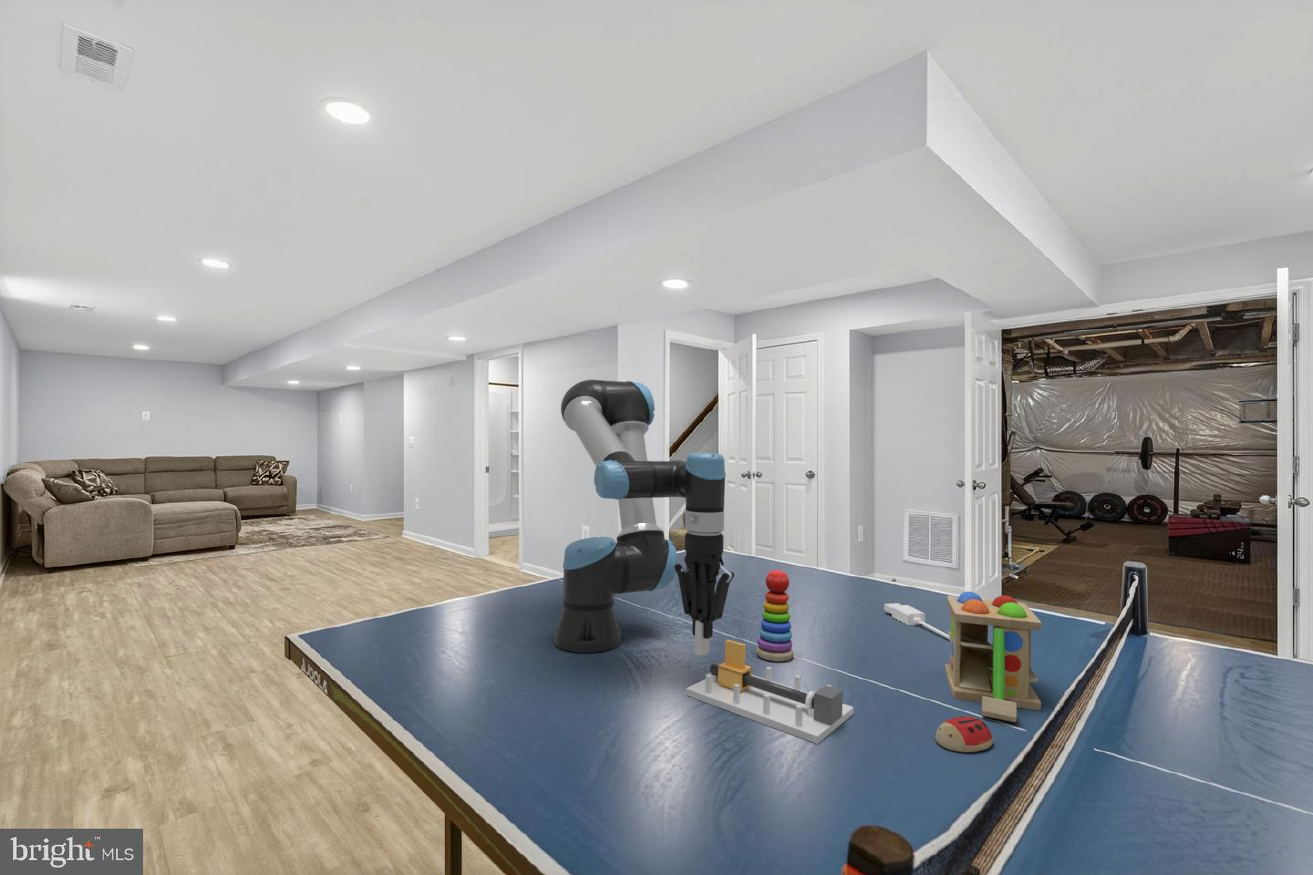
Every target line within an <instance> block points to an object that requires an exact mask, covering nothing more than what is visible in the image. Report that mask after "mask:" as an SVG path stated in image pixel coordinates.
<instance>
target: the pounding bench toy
mask: <svg viewBox="0 0 1313 875" xmlns="http://www.w3.org/2000/svg"><path fill="white" fill-rule="evenodd" d="M946 604H947V607H948V610H949V612H950V630H947V635H949V638H950V639H949V645H950V646H949V648H950V650H949V653H950V654H949V663H945V664H944V665H945V666H944V672H945V676H946V679H947V682H948V686H949V688H950V691H951V695H952V697H953V699H956V700H963V701H969V702H977V703H981V716H982V717H988V718H992V719H998V720H1001V721H1007V722H1010V723H1016V722H1017V719H1018V718H1017V714H1018V712H1017V711H1018V710H1017V709H1023V710H1024V709H1026V710H1033V711H1042V701H1041V700H1040V698H1039V697H1038V695H1037V694H1036V692H1035V691H1034V689H1033V687H1032V683H1038V682H1039V679H1038V677H1037V675H1036V674H1035V672H1034V671H1033V669H1032V631H1042V622H1041V620H1040V619H1039V618H1038V616H1036V614H1035V613H1034V612H1033V611H1032V609H1030V608H1029V606H1028V605H1027V604H1026V603H1024V602H1017V600H1016V599H1014V598H1013V597H1012V596H1009V595H1007V594H1006V595H999V596H996V597H995V598H994V599H984V598H981V596H980V595H979V594H977V593H976V592H974V591H964V592H962V593H961V594H960V595H959V596H958V595H947V596H946ZM989 626H992V643H990V641H989V639H988V638H989Z"/></svg>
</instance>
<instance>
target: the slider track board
mask: <svg viewBox="0 0 1313 875" xmlns="http://www.w3.org/2000/svg"><path fill="white" fill-rule="evenodd" d="M718 665H719V664H716V663H712V664H711V666H710V667H709V672H708V673H706V674H705V678H704V679H702V680H700V681H698V682H696V683H694V684H692V685H690V686H688V687H686V688H685V696H688V697H690V698H693V699H696V700H698V701H701V702H703V703H706V704H709V705H712V706H714V707H717V708H720V709H722V710H725V711H727V712H730V713H733V714H736V715H739V716H741V717H744V718H747V719H749V720H752V721H755V722H757V723H760V724H762V725H765V726H768V727H771V728H773V729H776V730H779V731H782V732H783V733H786V734H790V735H792V736H794V737H798V738H800V739H802V740H805V741H808V742H811V743H814V744H817V745H818V744H819V743H821V741H823V740H824V739H826V737H827V736H829V735H830V734H831V733H833V732H834V731H835V730H836V729H838V727H840V726H841V725H842V724H843V723H844V722H846V721H848V719H849V718H851V717H852V716H853V715H854V710H855V709H854V708H855V707H854V706H851V705H849V704H847V703H846V704H845V703H843V702H844V701H843V694H844V693H843V692H844V691H843V689H839V688H837V687H833V686H832V685H830V684H826V685H824V686H822V687H821V688H819V690H817V691H812V690H809V691H808V692H807V691H803V690H801V686H802V685H801V682H802V680H801V679H802V678H801V675H797V674H796V675H795V676H794V683H793V684H794V686H793V687H791V686H788V685H785V684H782V683H779V682H776V681H773V680H772V678H773V677H772V675H773V673H772V669H773V668H772V667H770V666H767V667H765V678H763V677H760V676H757V675H755V674H751V675H748V674H745V673H744V674H743V676H742V684H745V685H748V686H750V687H748V688H746V689H744V690H743V691H741V692H740V685H738V684H735V685H734V688H733V689H732V688H729V687H726V686H723V685H720V684H718ZM850 716H851V717H850Z"/></svg>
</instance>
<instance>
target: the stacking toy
mask: <svg viewBox="0 0 1313 875" xmlns="http://www.w3.org/2000/svg"><path fill="white" fill-rule="evenodd" d="M765 585H766V588H767V589H768V590H769V591H767V592H765V596H764V598H765V600H766V601H764V602H763V604H762V606H763V609H764V610H763V611H762V619H761V621H760V626H761V628H760V629H759V637H758V638H757V641H756V642H757V646H756V648H755V649H756V650H755V651H756V654H757V655H758V657H760V658H762V659H764V660H766V661H770V662H786V661H789V660H791V659H793V657H794V655H795V654H794V650H793V641H792V640H791V639H792V638H793V633H792V631H791V629H792V624H791V621H790V619H791V614H790V612H789V609H790V605H789V604H788V603H787V602H788V601H789V594H788V593H787V592H786V591H788V589H789V586H790V579H789V576H788V575H787V574H786V573H785V571H783V570H779V569H775V570H774V569H773V570H771V571H770V572H769V573H767V575H766V577H765Z"/></svg>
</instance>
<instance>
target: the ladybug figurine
mask: <svg viewBox="0 0 1313 875" xmlns="http://www.w3.org/2000/svg"><path fill="white" fill-rule="evenodd" d="M935 741H936V743H938V745H939V746H940V747H942V748H945V749H947V750H949V751H952V752H953V751H954V752H957V753H959V752H960V753H976V752H980V751H984V750H987V749H989V748H990V747H991V746H992V745H993V743H994V737H993V735H992V732H991V730H990V728H989V727H988V726H987V724H986V723H985V722H984V721H982V720H981V719H979V718H976V717H973V716H957V717H952V718H949V719H947V720H945V721H944V722H942V723H941V724H940V725H939V727H938V728H937V729H936V732H935Z"/></svg>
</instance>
